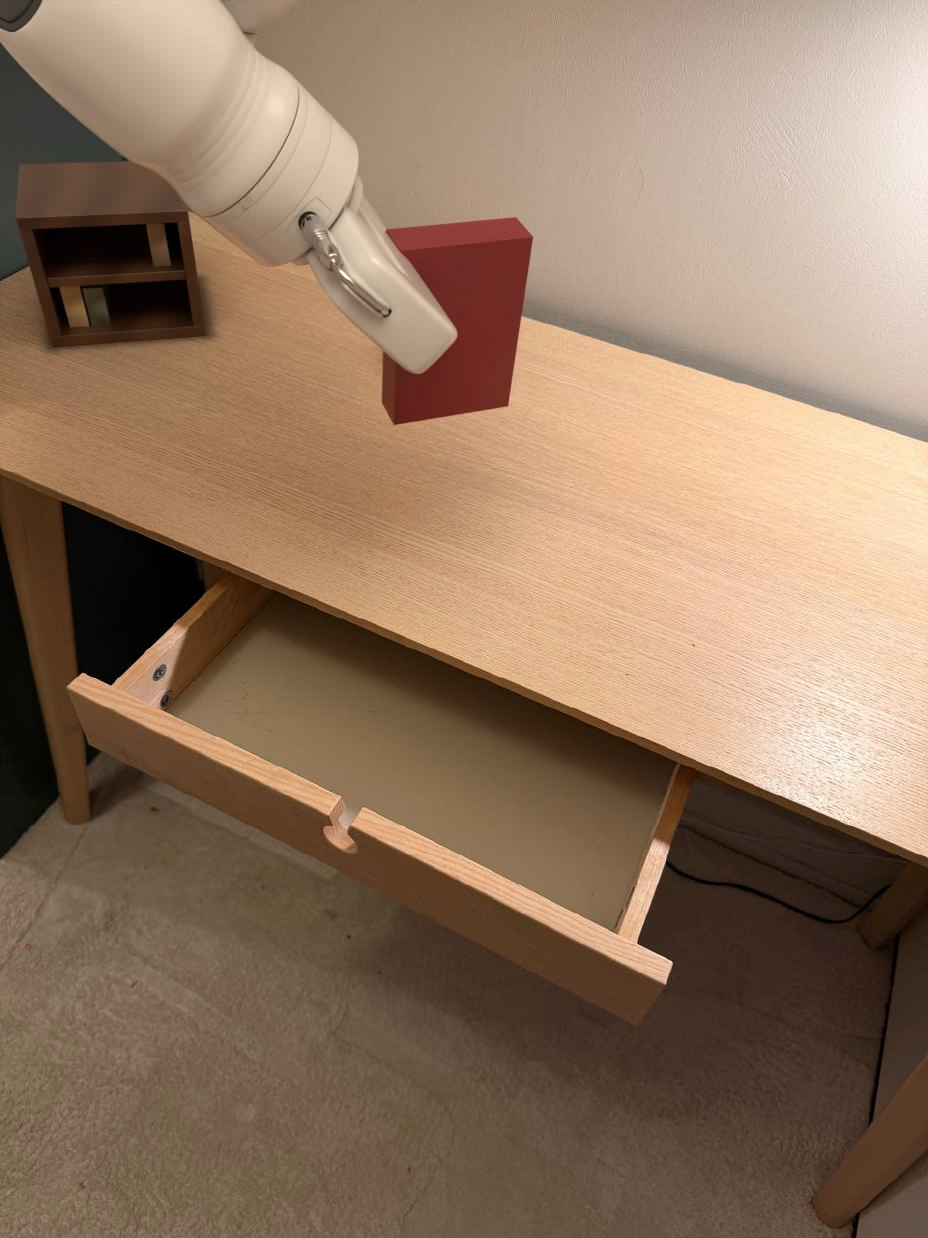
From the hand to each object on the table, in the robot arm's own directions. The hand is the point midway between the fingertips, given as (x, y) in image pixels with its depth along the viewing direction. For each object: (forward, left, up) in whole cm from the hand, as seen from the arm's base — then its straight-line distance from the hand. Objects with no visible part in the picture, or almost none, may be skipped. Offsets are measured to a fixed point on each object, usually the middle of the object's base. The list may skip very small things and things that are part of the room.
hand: (433, 318), depth 61 cm
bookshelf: (-23, +46, -25) cm, 57 cm away
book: (+1, 0, -7) cm, 7 cm away
